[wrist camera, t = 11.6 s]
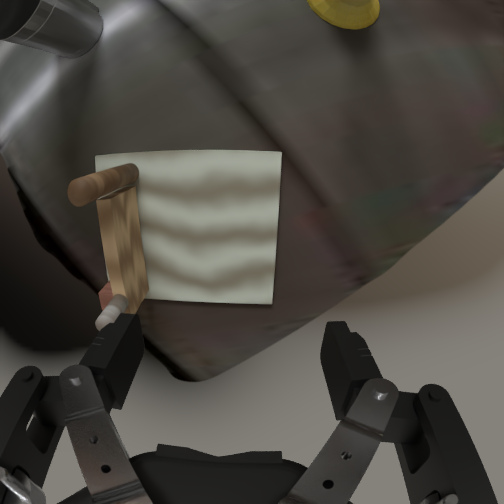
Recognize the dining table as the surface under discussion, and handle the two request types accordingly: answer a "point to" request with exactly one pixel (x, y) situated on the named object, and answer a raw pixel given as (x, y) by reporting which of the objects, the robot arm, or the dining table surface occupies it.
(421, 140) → the dining table surface
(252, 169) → the towel on rod
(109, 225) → the wooden panel
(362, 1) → the handbell
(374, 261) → the dining table surface
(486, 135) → the dining table surface
